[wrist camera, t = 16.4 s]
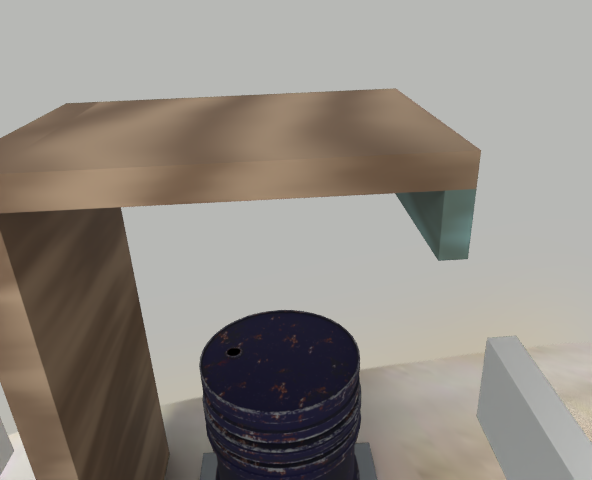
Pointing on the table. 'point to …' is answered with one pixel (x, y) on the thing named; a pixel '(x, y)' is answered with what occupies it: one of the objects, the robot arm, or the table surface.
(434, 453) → the table surface
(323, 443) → the rusty oil drum
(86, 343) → the wooden gallows frame
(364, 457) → the pad
